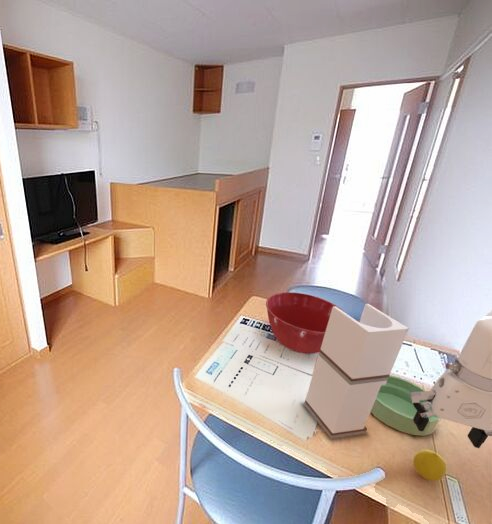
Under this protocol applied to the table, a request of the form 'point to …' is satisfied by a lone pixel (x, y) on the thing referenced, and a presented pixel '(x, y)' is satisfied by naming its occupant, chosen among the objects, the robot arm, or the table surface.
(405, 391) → the green bowl
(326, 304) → the mixing bowl
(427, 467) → the lemon
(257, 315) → the table surface
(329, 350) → the tall white box
